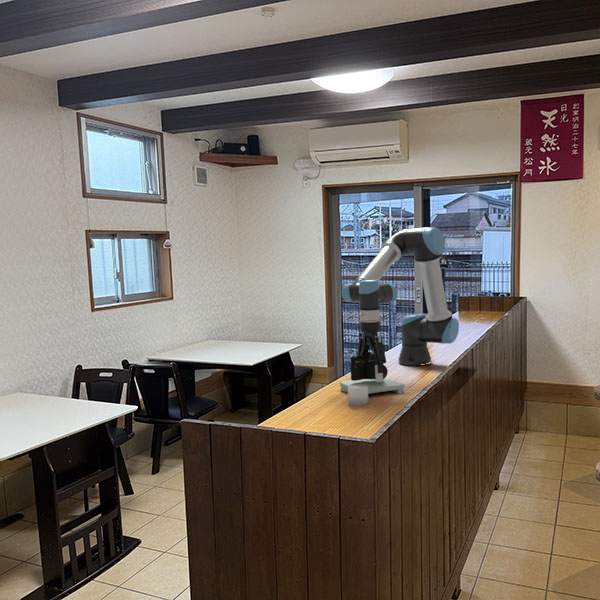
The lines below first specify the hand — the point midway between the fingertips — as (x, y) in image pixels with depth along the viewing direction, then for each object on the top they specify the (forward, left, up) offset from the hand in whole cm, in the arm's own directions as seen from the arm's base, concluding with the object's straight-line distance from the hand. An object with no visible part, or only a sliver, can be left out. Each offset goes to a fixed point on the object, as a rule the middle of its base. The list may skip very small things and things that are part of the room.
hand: (371, 378), depth 213 cm
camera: (0, 0, -1) cm, 1 cm away
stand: (0, 0, -5) cm, 5 cm away
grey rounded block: (+13, +13, -5) cm, 19 cm away
